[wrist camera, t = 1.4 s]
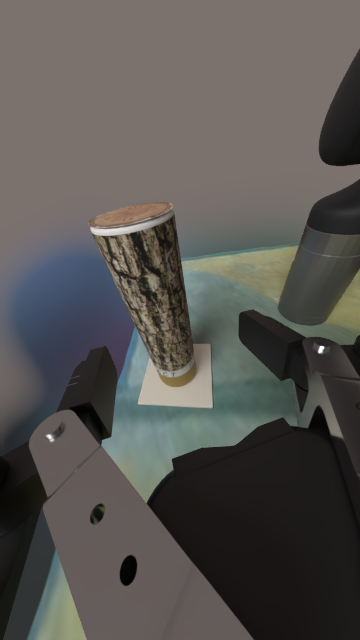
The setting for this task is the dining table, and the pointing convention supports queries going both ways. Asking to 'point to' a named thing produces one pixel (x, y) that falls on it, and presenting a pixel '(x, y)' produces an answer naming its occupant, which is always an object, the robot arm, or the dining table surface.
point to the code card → (187, 395)
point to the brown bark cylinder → (150, 283)
